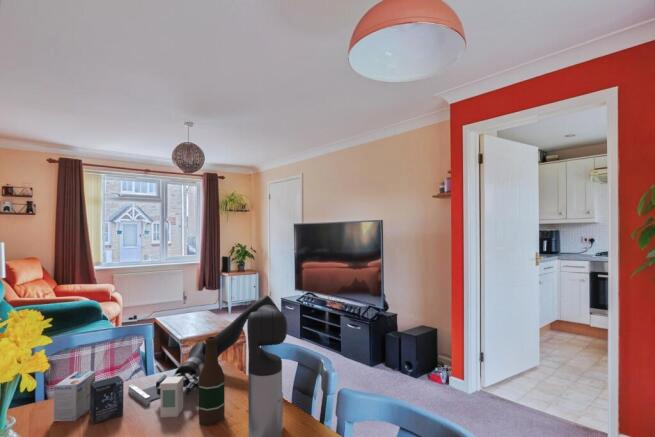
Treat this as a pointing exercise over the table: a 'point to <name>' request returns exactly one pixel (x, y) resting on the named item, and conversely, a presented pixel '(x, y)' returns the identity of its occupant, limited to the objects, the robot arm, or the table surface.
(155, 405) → the table surface
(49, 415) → the table surface
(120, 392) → the box
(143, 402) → the rail
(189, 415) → the table surface
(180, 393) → the carton
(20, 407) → the table surface
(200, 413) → the beer bottle
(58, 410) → the light bulb box
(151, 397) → the shelf mat
